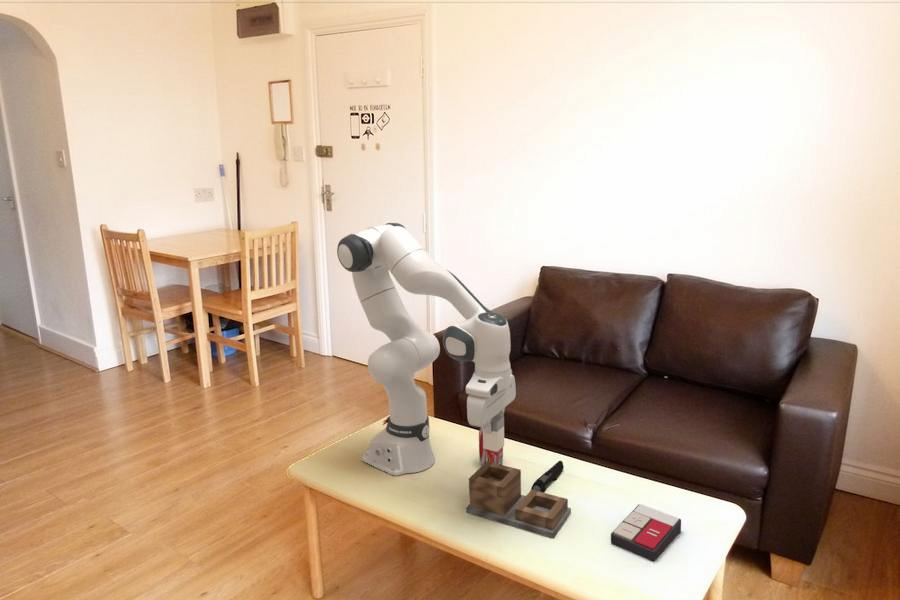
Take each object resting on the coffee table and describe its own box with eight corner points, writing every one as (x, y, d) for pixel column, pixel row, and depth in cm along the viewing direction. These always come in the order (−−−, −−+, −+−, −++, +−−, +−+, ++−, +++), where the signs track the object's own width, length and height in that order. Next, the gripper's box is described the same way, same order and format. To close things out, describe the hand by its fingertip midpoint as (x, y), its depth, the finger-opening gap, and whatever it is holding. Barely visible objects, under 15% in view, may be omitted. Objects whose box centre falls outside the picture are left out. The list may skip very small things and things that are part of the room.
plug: (483, 448, 164) (482, 419, 162) (490, 441, 168) (490, 413, 166) (497, 451, 162) (496, 422, 160) (504, 445, 166) (504, 416, 164)
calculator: (610, 531, 152) (639, 500, 162) (610, 546, 153) (639, 515, 163) (654, 549, 144) (682, 516, 155) (654, 565, 146) (681, 531, 156)
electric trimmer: (567, 471, 186) (567, 461, 185) (542, 495, 174) (542, 485, 173) (555, 468, 188) (555, 458, 187) (530, 491, 176) (529, 481, 175)
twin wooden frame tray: (466, 512, 167) (465, 479, 165) (487, 490, 177) (486, 459, 175) (553, 538, 155) (553, 503, 153) (570, 513, 165) (571, 479, 163)
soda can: (481, 456, 196) (480, 420, 193) (504, 458, 194) (503, 421, 191) (477, 468, 189) (476, 430, 186) (501, 469, 188) (500, 432, 185)
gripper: (499, 362, 170) (500, 410, 174) (461, 389, 153) (463, 442, 157) (521, 366, 167) (521, 415, 171) (485, 394, 150) (486, 448, 154)
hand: (493, 428), depth 164 cm, fingers closed on plug, 4 cm apart
